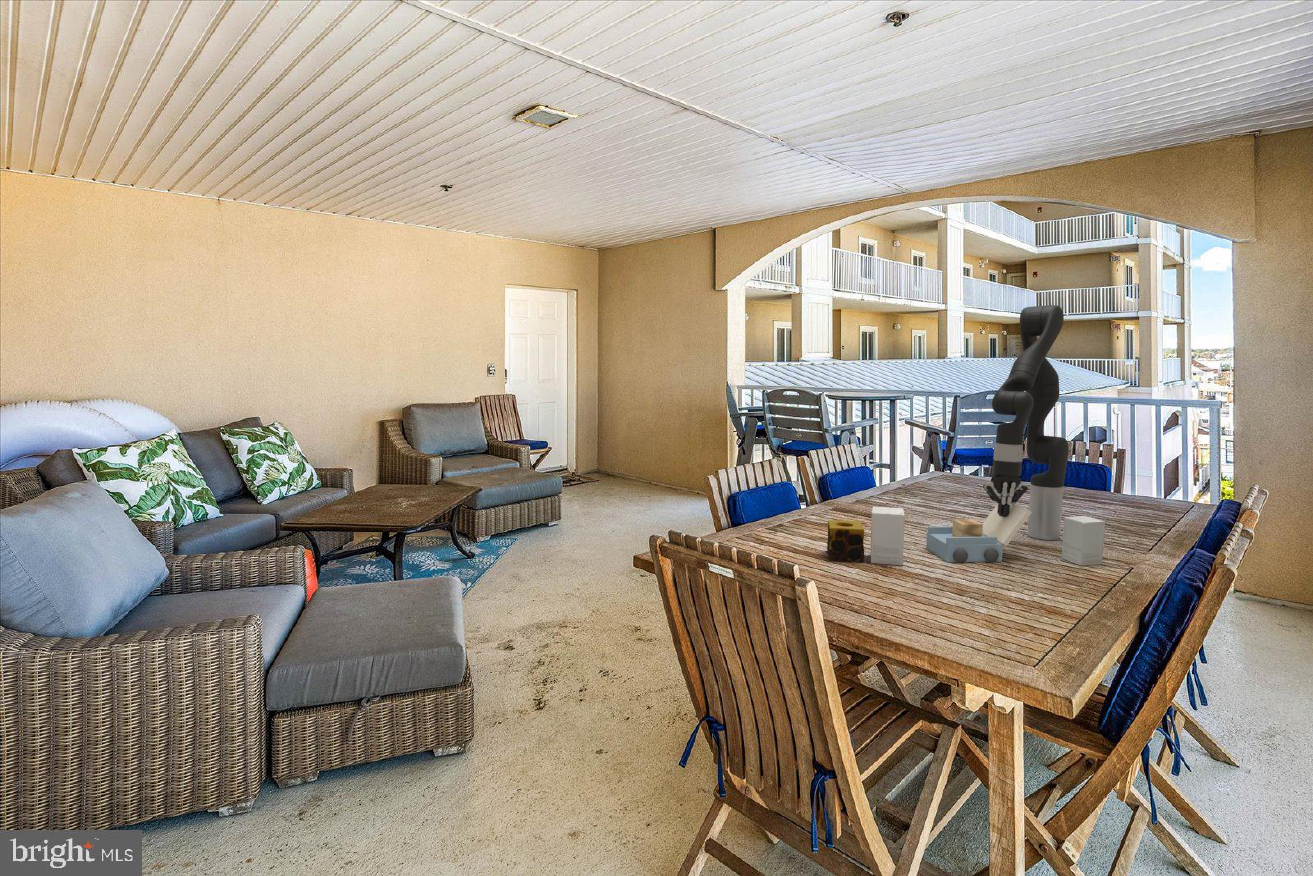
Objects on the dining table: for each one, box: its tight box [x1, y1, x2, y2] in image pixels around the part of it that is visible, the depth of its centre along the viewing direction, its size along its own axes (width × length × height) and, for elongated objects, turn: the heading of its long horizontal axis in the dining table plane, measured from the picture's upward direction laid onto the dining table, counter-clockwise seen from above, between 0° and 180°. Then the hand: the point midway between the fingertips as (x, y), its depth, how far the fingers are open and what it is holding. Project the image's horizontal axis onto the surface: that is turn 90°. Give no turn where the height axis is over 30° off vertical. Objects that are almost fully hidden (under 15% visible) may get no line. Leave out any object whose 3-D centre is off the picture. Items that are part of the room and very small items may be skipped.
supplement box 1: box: [870, 506, 906, 566], centre depth 191 cm, size 9×9×15 cm
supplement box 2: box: [1061, 515, 1106, 567], centre depth 189 cm, size 7×7×13 cm
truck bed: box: [925, 525, 1004, 564], centre depth 196 cm, size 16×16×7 cm
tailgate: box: [982, 503, 1032, 547], centre depth 196 cm, size 1×14×12 cm
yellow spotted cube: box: [826, 519, 865, 563], centre depth 194 cm, size 10×10×10 cm
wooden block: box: [952, 518, 983, 537], centre depth 196 cm, size 6×6×5 cm
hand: (1002, 516), depth 195 cm, fingers closed
